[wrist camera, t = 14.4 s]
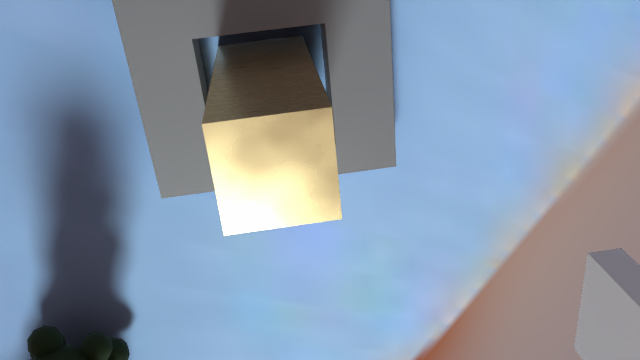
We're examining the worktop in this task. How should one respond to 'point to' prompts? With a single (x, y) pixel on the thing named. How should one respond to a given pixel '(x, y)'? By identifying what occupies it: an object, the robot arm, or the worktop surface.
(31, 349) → the toy figurine
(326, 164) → the brass peg
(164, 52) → the socket plate
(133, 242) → the worktop surface
